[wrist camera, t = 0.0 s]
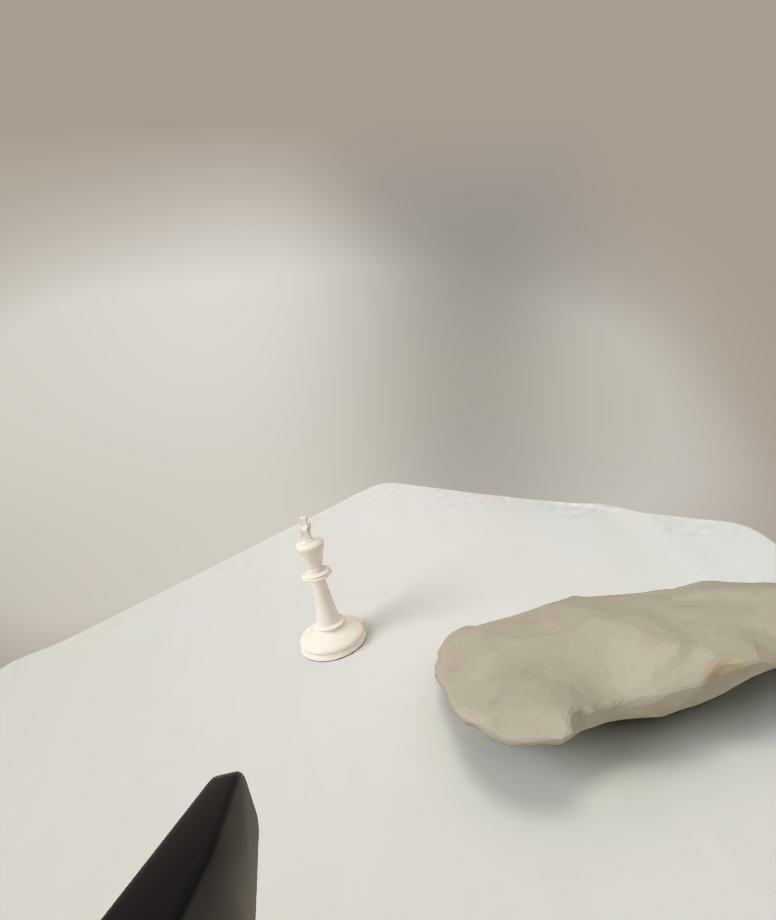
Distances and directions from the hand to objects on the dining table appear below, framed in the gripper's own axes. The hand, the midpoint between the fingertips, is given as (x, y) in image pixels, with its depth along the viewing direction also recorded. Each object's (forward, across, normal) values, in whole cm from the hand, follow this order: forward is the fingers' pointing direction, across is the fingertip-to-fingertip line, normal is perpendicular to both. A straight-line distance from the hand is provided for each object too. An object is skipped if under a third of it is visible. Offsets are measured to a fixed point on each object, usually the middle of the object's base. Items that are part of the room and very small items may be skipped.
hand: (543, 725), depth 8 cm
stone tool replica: (+20, -12, +17) cm, 28 cm away
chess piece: (+31, +7, +17) cm, 36 cm away
